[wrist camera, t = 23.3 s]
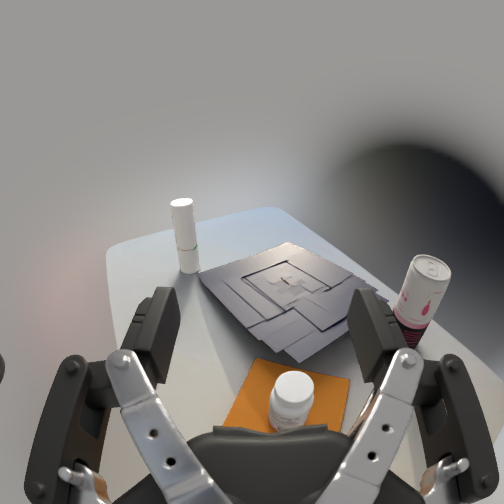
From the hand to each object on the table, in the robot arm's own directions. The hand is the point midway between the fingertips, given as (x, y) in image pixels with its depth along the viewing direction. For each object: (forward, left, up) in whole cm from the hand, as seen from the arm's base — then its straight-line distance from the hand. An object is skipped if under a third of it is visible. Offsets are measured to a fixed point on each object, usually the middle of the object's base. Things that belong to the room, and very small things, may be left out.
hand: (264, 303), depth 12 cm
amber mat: (+6, -2, -25) cm, 26 cm away
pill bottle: (+6, -2, -25) cm, 26 cm away
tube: (+31, +26, -26) cm, 48 cm away
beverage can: (+24, -17, -26) cm, 39 cm away
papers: (+30, +5, -26) cm, 40 cm away
